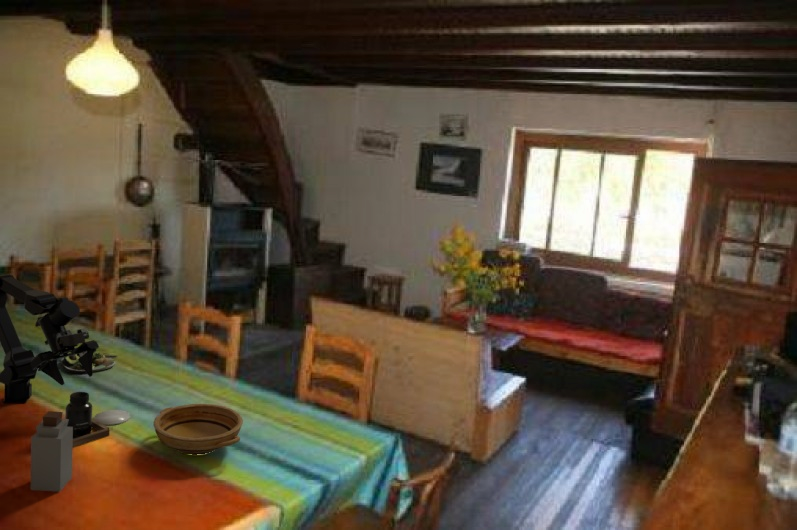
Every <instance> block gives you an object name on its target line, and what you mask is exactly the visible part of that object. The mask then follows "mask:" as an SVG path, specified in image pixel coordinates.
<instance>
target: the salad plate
mask: <svg viewBox="0 0 797 530" xmlns="http://www.w3.org/2000/svg"><path fill="white" fill-rule="evenodd" d="M70 353H71V352H70ZM79 358H80V357H79V356H77V355H72V356H68V357H65V358H61V359H60V361H59V362H60V366H61V368H63V370H64V371H65V372H68V373H70V374H75V375H76V374H78V375H80V374H81V375H82V374H87V373H86V371H85V370H84V368H83V366H82V365H81V363H80V362H79V360H78V359H79ZM115 358H118V355H112V354H111V355H110V354H106V353H102V354H101V353H100V352H95V353H94V354H93V356H92V371H93V373H97V372H101V371H105V370H109V369H111V368H113V367H114V366H115V365H116V362H115V361H114V360H113V359H115ZM101 366H105V367H101ZM95 367H101V368H95Z"/></svg>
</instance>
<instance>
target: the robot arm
mask: <svg viewBox="0 0 797 530" xmlns="http://www.w3.org/2000/svg"><path fill="white" fill-rule="evenodd" d="M8 295H9V296H11V297H12V298H14V299H16V300H17V301H19V302H21V303H22V304H23V306H24V307H23V308H24V309H25V310H26V311H27V312H28V313H29V314H30V315H32V316H38V315H42V316H38V317H36V318H37V319H36V321H35V327H36V328H39V327H40V328H41V331H42V333H43V335H44V338H45V341H44V345H46V346H49V348H50V350H47V351H43V352H39V353H37V355H35V354H34V352H33V350H32V349H25V348H24V347H23V345H22V343H21V340H20V338H19V336H18V333H17V330H16V327H15V325H14V324H13V321H12V319H11V316H10V314H9V311H8V309H7V306H6V305H7V302H8ZM80 309H81V308H80V307H79V305H78V304H77V303H76V302H74V301H72V300H69V298H68V297H67V296H66V297H61V298H58V297H56V295H55V294H54V293H52V292H48V291H44V290H37V289H34V288H33V287H30V286H29V285H27V284H26V283H23V282H22V281H21V280H19V279H17V278H15V277H14V275H13V274H9V273H8V274H7V273H6V274H0V345H1V347H2V350H3V352H4V354H5V355H4V359H3V363H2V366H3V370H2V371H1V372H0V384H3V385H4V399H3V400H2V403H5V404H6V403H7V404H8V403H9V404H12V403H13V404H25V403H27V402H28V401H29V400H30V398H31V397H32V396H33V393H32V392H33V388H32V387H33V384H32V383H31V380H34V379H35V378H36V377H37V376H36V375H37V372H42V373H44V374H45V375H47V376H48V377H50V378H52V379H53V380H54V381H55V382H57V383H58V384H59V385H61V386H64V385H65V381H64V377H63V376H62V374H61V372H60V369H59V367H58V360H62V359H63V358H65V357H68V356H72V355H77V356H79V357H80V358H79V359H78V360H79V362H80V363H81V365H82V366H83V368H84V370H85V371H86V373H85V374H87V375H88V377H90V378H91V377H93V375H94V374H93V373H94V372H93V371H92V356H93V354H94V353H97V349H99V348H100V346H99V343H98V342H97V341H96V340H95V339H93V340H89V341H86V340H87V339H89V338H90V334H89V331H88V329H87V328H86V327H85V328H81V329H80V328H79V329H77V332H76V333H72V331H71V330H70V329H68V330H67V329H66V325H68V324H69V323H71V322H72V321H73V320H74V319H76V318H77V317H78V316H79V315H80V312H81V311H80ZM79 344H80V345H79ZM70 352H71V353H70Z"/></svg>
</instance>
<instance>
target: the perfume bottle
mask: <svg viewBox="0 0 797 530" xmlns="http://www.w3.org/2000/svg"><path fill="white" fill-rule="evenodd" d="M63 414H64V413H63V411H51V410H48V411H47V412H46V413H45V414H44V415H43V416H42V421H41V422H40V423H39V424H37V425H36V426H35V430H36V432H35V433H34V434H33V435H32V436H30V490H31V491H42V492H44V491H45V492H58V493H60V492H62V491H63V489H64V488H65V487H66V485H67V484H68V483H69V482H70V480H71V479H72V478H73V448H74V447H73V427H67V424H68V421H69V419H65V418H63Z"/></svg>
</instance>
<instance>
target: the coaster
mask: <svg viewBox="0 0 797 530" xmlns="http://www.w3.org/2000/svg"><path fill="white" fill-rule="evenodd" d="M93 419H94V420H96V421H98V422H99V423H101V424H103V425H105V426H116V425H115V424H118V425H122V424H124V422H125V423H127V422H128V421H129V420H130V419H131V413H129V412H128V411H124V410H121V409H110V410H104V411H101V412H98V413H96V414H95V415H94V417H93ZM126 421H127V422H126ZM121 423H122V424H121Z"/></svg>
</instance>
